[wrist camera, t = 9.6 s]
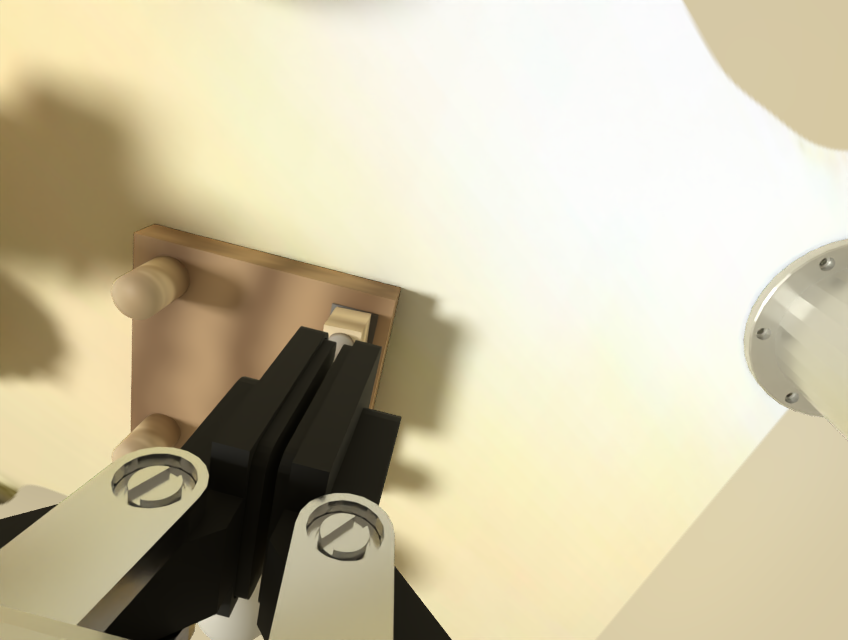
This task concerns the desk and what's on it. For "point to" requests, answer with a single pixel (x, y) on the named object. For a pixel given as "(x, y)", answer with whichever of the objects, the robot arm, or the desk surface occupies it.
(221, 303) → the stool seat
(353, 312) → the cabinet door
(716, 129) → the desk surface
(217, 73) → the desk surface
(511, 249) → the desk surface
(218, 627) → the lightbulb
